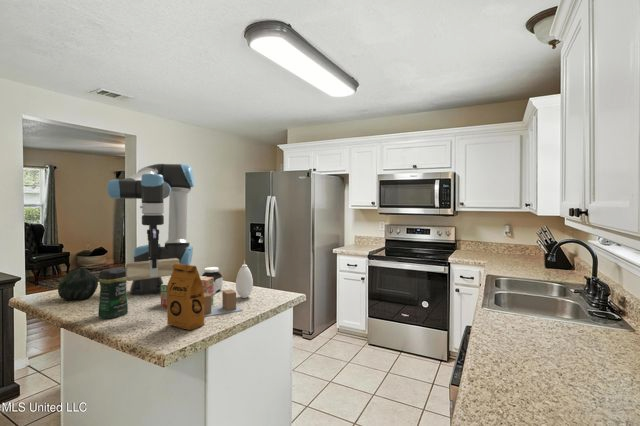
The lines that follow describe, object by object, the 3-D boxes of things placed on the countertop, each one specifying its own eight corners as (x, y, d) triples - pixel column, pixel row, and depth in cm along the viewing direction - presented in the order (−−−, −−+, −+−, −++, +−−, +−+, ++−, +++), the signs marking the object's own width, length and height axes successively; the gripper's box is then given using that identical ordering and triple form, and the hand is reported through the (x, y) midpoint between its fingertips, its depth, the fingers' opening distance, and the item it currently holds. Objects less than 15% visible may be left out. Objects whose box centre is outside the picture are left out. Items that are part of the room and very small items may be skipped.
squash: (58, 284, 156) (58, 263, 148) (96, 281, 165) (99, 261, 157) (57, 310, 148) (57, 289, 140) (97, 305, 157) (100, 286, 149)
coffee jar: (110, 320, 124) (110, 270, 123) (94, 318, 126) (93, 269, 126) (132, 312, 133) (131, 266, 132) (116, 310, 135) (116, 265, 135)
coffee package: (186, 333, 112) (186, 268, 111) (162, 326, 118) (162, 264, 117) (209, 324, 120) (209, 263, 120) (186, 318, 126) (186, 260, 126)
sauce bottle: (254, 298, 154) (254, 259, 153) (237, 300, 150) (237, 261, 150) (250, 294, 161) (250, 257, 160) (234, 296, 157) (234, 258, 157)
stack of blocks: (160, 306, 142) (160, 277, 142) (169, 302, 148) (169, 274, 148) (206, 309, 138) (206, 279, 138) (213, 304, 144) (213, 276, 144)
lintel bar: (125, 279, 123) (125, 263, 123) (176, 272, 135) (176, 258, 135) (128, 281, 120) (127, 264, 120) (179, 274, 132) (179, 259, 132)
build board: (191, 311, 135) (191, 293, 135) (235, 304, 145) (235, 287, 145) (196, 318, 127) (196, 299, 127) (242, 310, 136) (242, 292, 136)
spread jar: (217, 288, 173) (217, 266, 172) (228, 292, 165) (228, 269, 164) (194, 292, 164) (194, 269, 164) (205, 297, 156) (205, 272, 156)
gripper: (140, 213, 132) (141, 271, 133) (143, 215, 117) (144, 281, 118) (161, 213, 136) (161, 269, 137) (166, 215, 121) (167, 278, 122)
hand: (153, 275), depth 128 cm, fingers closed on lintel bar, 4 cm apart
